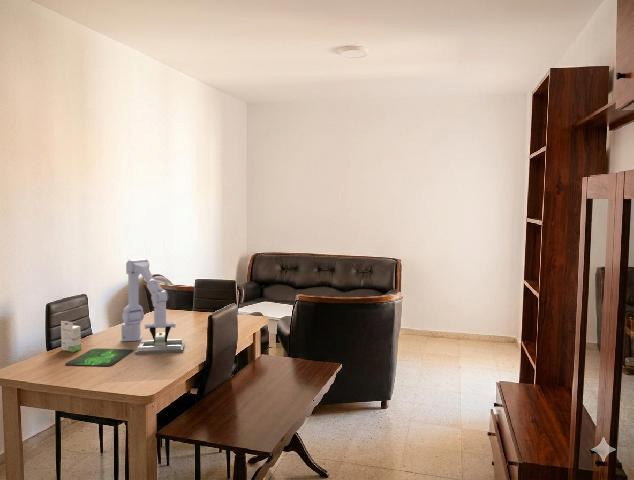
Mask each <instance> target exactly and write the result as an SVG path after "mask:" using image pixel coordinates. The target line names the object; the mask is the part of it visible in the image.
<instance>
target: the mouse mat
mask: <svg viewBox="0 0 634 480" xmlns="http://www.w3.org/2000/svg"><path fill="white" fill-rule="evenodd" d="M134 351H135V349H133V348H132V349H130V348H128V349H127V348H91V349H90V350H88V351H86V352H84V353H82V354H81V355H78V356H77V357H75V358H73V359H71V360H69V361H66V363H65V365H66V366H70V365H77V367H78V366H79V367H81V366H82V367H111V366H114V365H115V364H117V363H118V362H120V361H121V360H123V359H124V358H126V357H127V356H129V355H131V353H133V352H134ZM110 352H111V353H110Z"/></svg>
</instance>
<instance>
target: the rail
mask: <svg viewBox="0 0 634 480" xmlns="http://www.w3.org/2000/svg"><path fill="white" fill-rule="evenodd" d="M182 343H183V339H182V338H178V339H174V338H173V339H167V342H166V344H182ZM139 345H140V346H139ZM139 345H138V346H139V347H138V346H137V348H138V351H158V350H179V349H181V345H167V346H145V347H143V346H144V345H155V343H154V339H152V340H140V343H139Z"/></svg>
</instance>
